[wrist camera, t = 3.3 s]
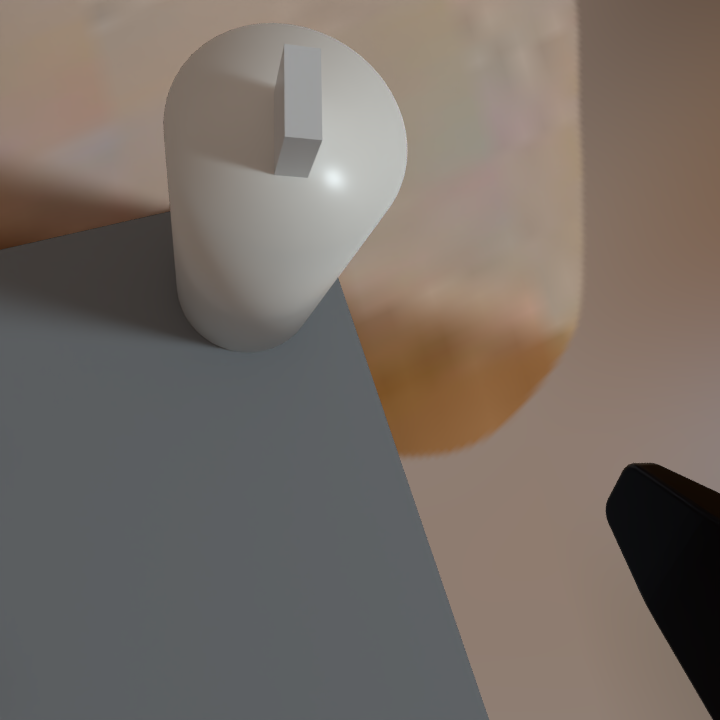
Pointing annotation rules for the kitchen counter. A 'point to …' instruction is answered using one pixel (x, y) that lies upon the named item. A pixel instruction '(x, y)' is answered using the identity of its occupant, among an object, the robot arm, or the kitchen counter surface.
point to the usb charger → (274, 177)
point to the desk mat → (202, 510)
